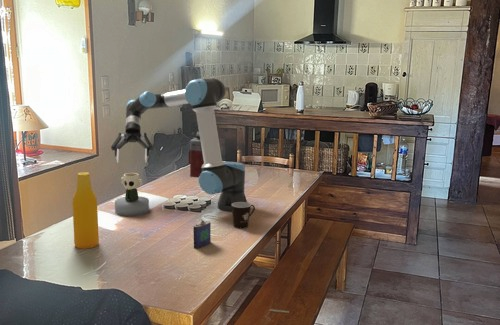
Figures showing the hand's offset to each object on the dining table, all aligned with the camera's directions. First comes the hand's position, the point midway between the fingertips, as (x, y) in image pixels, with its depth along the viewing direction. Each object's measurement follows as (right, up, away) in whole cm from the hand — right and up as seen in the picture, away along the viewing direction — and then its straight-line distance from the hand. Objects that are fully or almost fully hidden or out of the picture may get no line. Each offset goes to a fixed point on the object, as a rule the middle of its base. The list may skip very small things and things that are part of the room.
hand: (131, 161), depth 238 cm
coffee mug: (+55, -29, -20) cm, 66 cm away
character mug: (+1, -19, -4) cm, 20 cm away
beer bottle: (-7, -33, -46) cm, 57 cm away
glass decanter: (+24, -9, +70) cm, 75 cm away
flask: (+39, -34, -44) cm, 68 cm away
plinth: (+1, -24, -3) cm, 24 cm away
